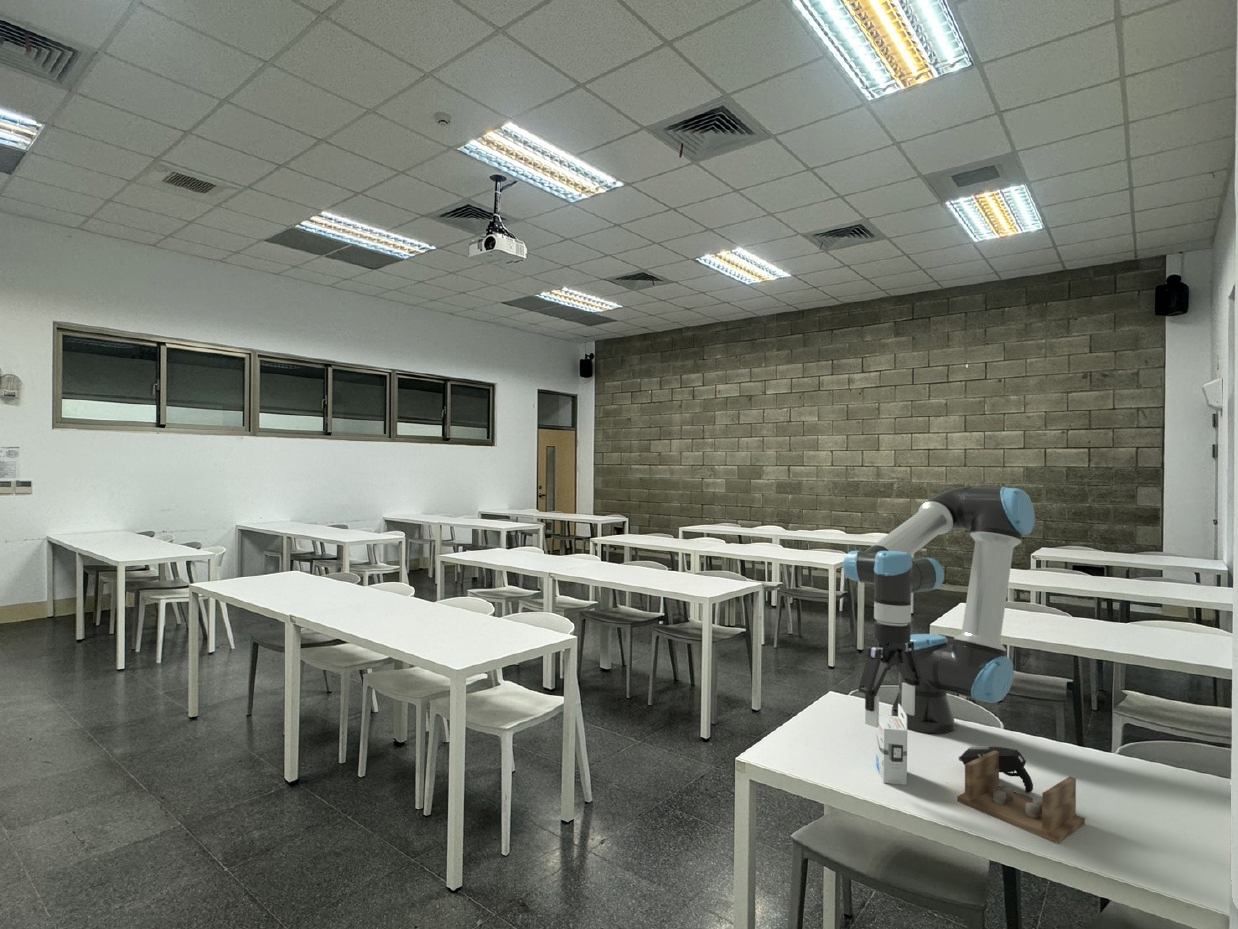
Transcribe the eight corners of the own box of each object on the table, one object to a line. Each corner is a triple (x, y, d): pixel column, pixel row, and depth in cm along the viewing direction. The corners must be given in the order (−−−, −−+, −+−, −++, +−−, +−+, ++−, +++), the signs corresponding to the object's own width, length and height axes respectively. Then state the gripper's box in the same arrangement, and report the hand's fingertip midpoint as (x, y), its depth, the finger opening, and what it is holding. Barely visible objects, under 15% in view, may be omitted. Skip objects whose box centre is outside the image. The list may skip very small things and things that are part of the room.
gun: (984, 785, 146) (956, 744, 148) (1047, 787, 133) (1016, 742, 135) (977, 793, 145) (949, 752, 147) (1041, 795, 131) (1009, 750, 133)
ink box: (875, 766, 147) (876, 700, 147) (898, 768, 146) (899, 702, 146) (882, 783, 138) (883, 714, 138) (907, 786, 137) (908, 716, 137)
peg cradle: (986, 785, 138) (986, 747, 138) (1084, 823, 123) (1084, 781, 123) (957, 801, 131) (957, 761, 131) (1057, 843, 116) (1057, 799, 116)
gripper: (907, 613, 153) (906, 704, 152) (842, 624, 138) (840, 724, 138) (939, 619, 146) (937, 714, 146) (873, 632, 132) (871, 737, 132)
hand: (890, 719), depth 142 cm, fingers open, 13 cm apart
